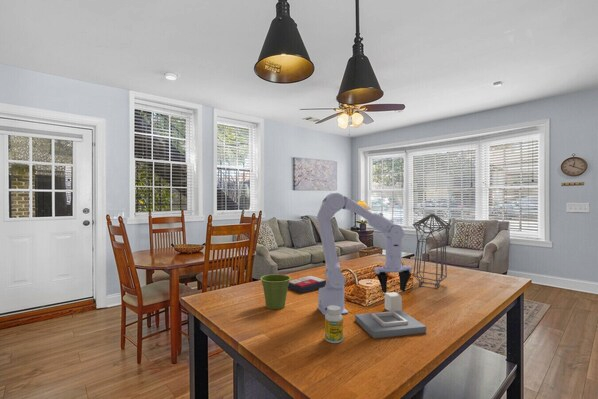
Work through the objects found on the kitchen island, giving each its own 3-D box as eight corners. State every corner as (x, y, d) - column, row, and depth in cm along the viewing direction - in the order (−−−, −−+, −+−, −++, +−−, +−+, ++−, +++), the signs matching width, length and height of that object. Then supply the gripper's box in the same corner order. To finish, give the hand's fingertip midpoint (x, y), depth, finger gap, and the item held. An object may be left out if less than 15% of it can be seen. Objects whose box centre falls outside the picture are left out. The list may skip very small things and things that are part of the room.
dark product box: (286, 280, 143) (311, 274, 153) (287, 289, 143) (311, 282, 153) (301, 286, 135) (326, 278, 144) (302, 295, 135) (326, 287, 144)
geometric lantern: (417, 279, 159) (419, 212, 159) (450, 285, 150) (453, 214, 150) (408, 286, 146) (411, 213, 146) (444, 293, 137) (447, 215, 137)
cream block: (390, 312, 113) (390, 296, 113) (384, 308, 118) (384, 292, 117) (401, 311, 114) (401, 295, 114) (395, 307, 119) (395, 292, 118)
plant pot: (297, 306, 119) (297, 277, 119) (274, 314, 111) (274, 283, 110) (276, 299, 127) (276, 272, 127) (253, 306, 119) (254, 277, 119)
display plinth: (373, 338, 92) (373, 328, 92) (355, 320, 106) (355, 311, 106) (426, 332, 96) (426, 323, 96) (401, 315, 110) (401, 307, 110)
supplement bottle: (339, 334, 95) (339, 303, 95) (345, 342, 90) (345, 310, 90) (322, 336, 94) (322, 305, 94) (328, 344, 88) (328, 311, 88)
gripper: (381, 258, 110) (381, 296, 110) (416, 256, 113) (416, 293, 114) (372, 254, 117) (372, 290, 117) (406, 253, 120) (406, 287, 120)
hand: (393, 291), depth 116 cm, fingers open, 7 cm apart
